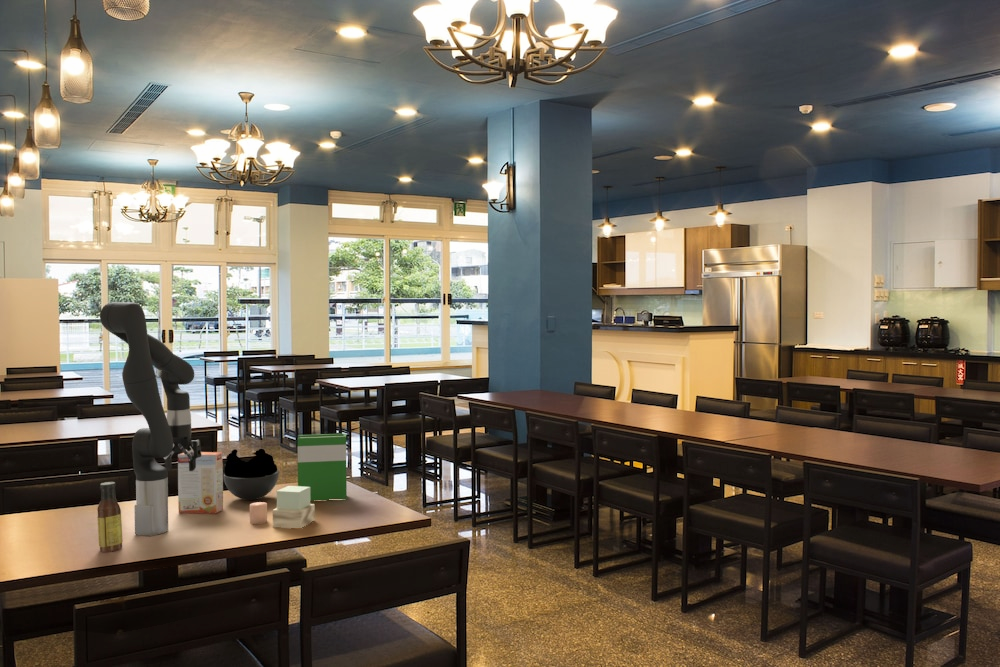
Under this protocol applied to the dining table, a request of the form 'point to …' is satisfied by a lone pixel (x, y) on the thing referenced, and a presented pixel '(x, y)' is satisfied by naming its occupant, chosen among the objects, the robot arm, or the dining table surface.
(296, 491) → the sage block
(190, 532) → the dining table surface
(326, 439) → the hardback book
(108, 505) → the sauce bottle
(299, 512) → the birch base block
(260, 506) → the coral cylinder
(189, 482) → the cracker box
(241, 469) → the bowl of black rocks
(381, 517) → the dining table surface
